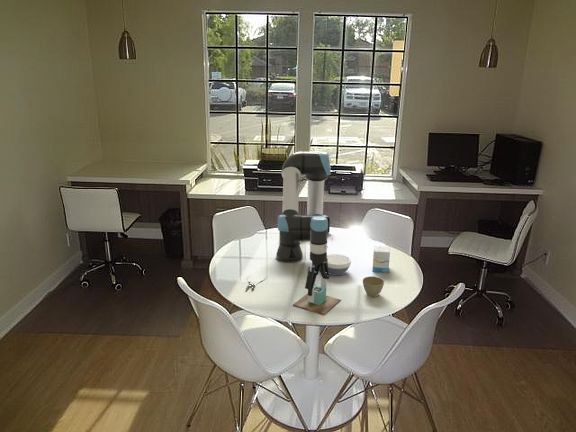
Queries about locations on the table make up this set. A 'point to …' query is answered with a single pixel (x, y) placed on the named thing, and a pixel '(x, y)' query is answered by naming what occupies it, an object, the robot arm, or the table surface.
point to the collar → (319, 295)
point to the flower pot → (373, 285)
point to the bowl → (338, 264)
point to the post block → (319, 309)
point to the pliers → (250, 286)
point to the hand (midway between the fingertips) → (317, 296)
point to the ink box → (381, 259)
